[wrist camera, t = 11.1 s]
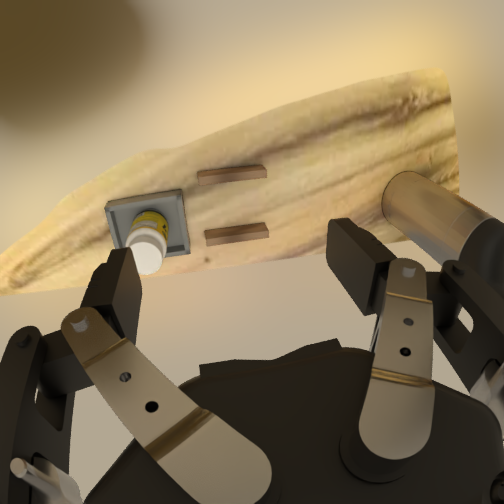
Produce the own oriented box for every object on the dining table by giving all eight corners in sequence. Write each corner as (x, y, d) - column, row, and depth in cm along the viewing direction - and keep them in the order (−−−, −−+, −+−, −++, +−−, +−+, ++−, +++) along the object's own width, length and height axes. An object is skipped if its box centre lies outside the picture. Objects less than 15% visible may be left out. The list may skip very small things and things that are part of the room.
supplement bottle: (167, 243, 39) (164, 280, 32) (132, 240, 38) (122, 277, 31) (170, 209, 37) (167, 240, 30) (133, 206, 36) (121, 237, 28)
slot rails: (261, 164, 37) (266, 169, 35) (264, 229, 42) (268, 237, 39) (197, 171, 36) (197, 177, 34) (205, 237, 40) (206, 246, 38)
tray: (181, 189, 36) (181, 194, 35) (190, 245, 41) (190, 253, 39) (108, 201, 35) (104, 207, 33) (122, 255, 39) (119, 264, 37)
